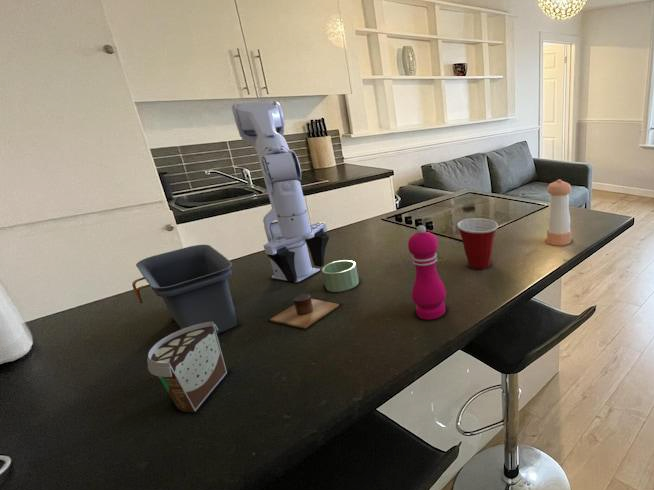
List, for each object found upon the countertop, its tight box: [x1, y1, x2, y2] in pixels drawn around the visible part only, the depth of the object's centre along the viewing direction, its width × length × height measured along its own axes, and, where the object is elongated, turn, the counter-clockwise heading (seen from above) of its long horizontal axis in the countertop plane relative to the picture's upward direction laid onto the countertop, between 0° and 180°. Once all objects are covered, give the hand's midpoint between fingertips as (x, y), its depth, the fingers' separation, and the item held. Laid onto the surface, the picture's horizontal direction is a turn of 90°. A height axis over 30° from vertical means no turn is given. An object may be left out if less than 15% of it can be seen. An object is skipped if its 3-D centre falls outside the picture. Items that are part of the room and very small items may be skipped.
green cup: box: [321, 259, 360, 293], centre depth 103 cm, size 8×8×5 cm
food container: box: [146, 322, 228, 413], centre depth 66 cm, size 12×6×10 cm, turn 5°
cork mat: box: [269, 293, 340, 330], centre depth 90 cm, size 10×10×4 cm
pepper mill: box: [407, 224, 447, 321], centre depth 85 cm, size 7×7×20 cm
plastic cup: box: [456, 217, 499, 270], centre depth 109 cm, size 11×11×12 cm
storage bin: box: [131, 244, 238, 335], centre depth 86 cm, size 21×16×14 cm
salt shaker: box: [546, 178, 573, 246], centre depth 121 cm, size 7×7×19 cm
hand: (306, 273), depth 88 cm, fingers open, 7 cm apart
